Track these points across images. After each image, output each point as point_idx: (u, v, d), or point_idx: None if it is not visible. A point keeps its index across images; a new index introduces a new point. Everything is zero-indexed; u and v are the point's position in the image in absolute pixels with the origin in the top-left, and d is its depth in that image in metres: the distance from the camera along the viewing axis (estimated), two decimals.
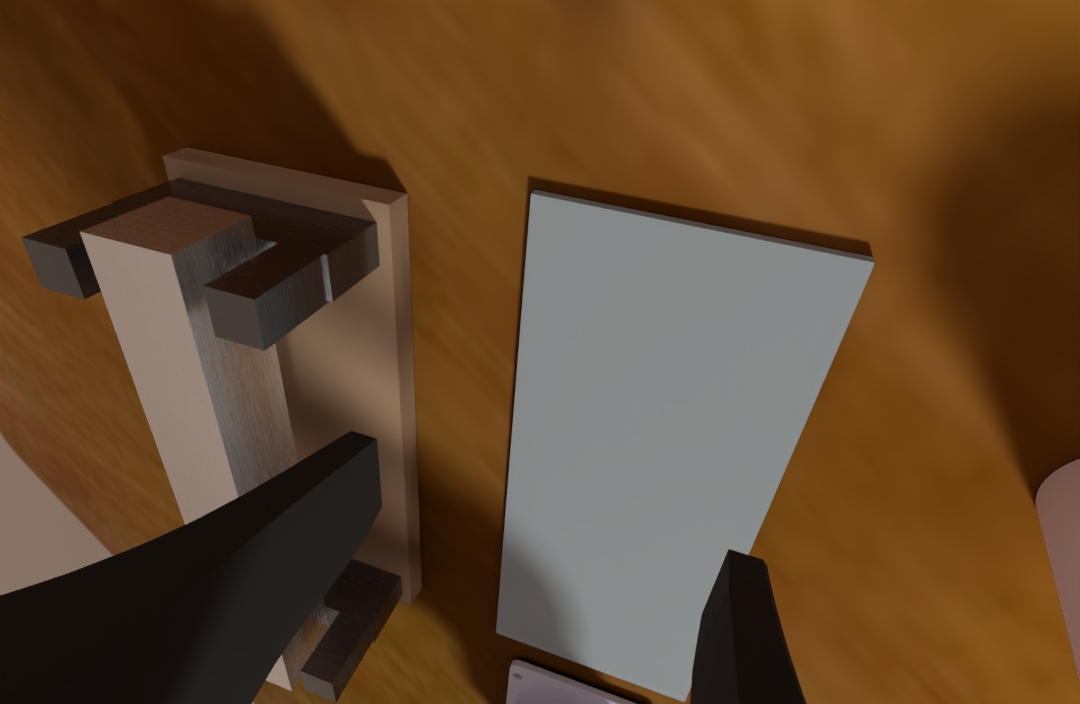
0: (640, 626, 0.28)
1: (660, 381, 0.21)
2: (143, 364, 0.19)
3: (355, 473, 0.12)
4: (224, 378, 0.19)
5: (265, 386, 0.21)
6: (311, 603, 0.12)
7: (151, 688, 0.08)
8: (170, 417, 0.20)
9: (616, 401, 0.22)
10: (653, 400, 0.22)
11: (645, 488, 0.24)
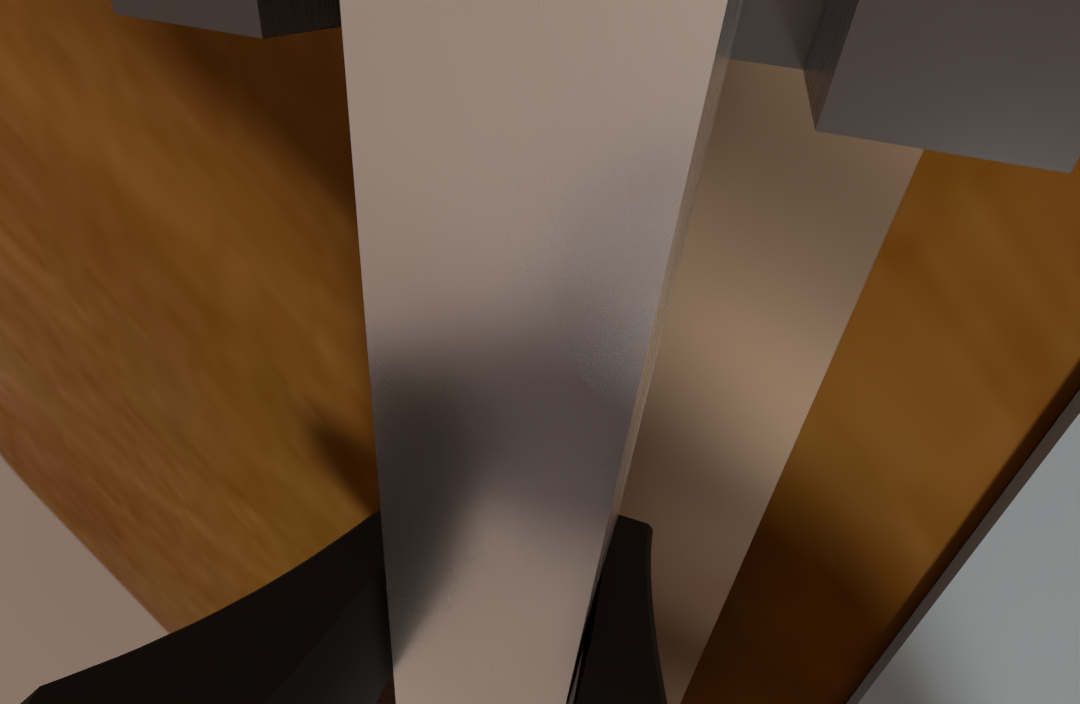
0: None
1: None
2: (421, 272, 0.06)
3: None
4: (657, 319, 0.06)
5: (655, 353, 0.08)
6: None
7: None
8: (454, 433, 0.07)
9: None
10: None
11: None
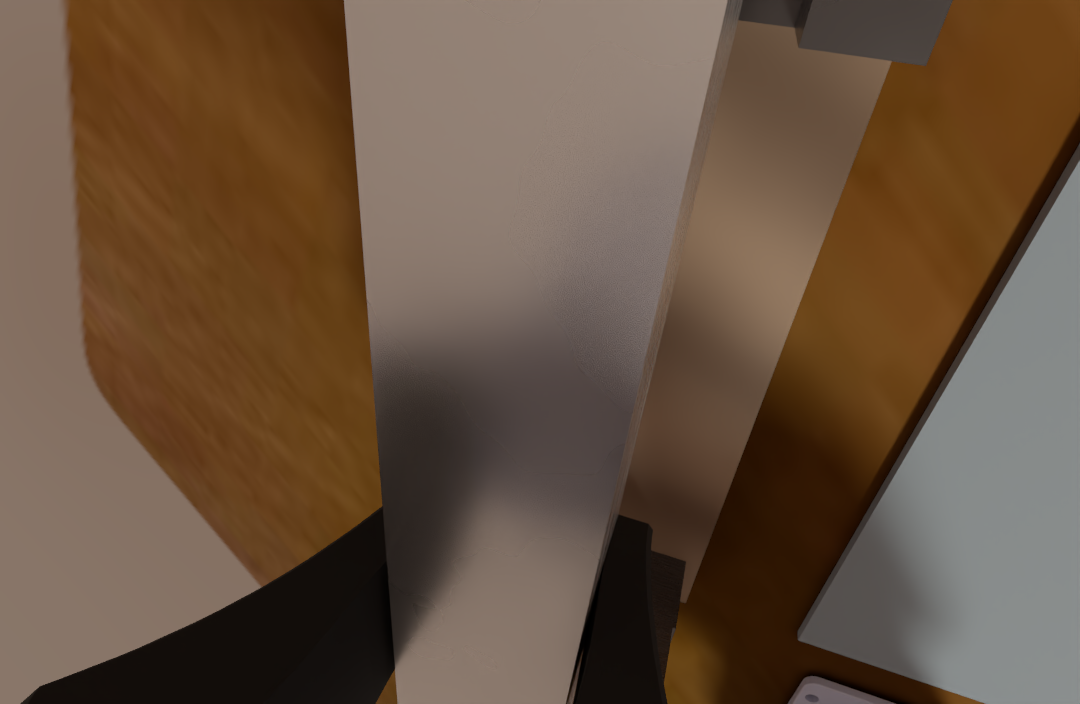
0: (1069, 633, 0.20)
1: None
2: (423, 267, 0.06)
3: None
4: (659, 313, 0.06)
5: (656, 349, 0.08)
6: None
7: None
8: (457, 427, 0.07)
9: None
10: None
11: None
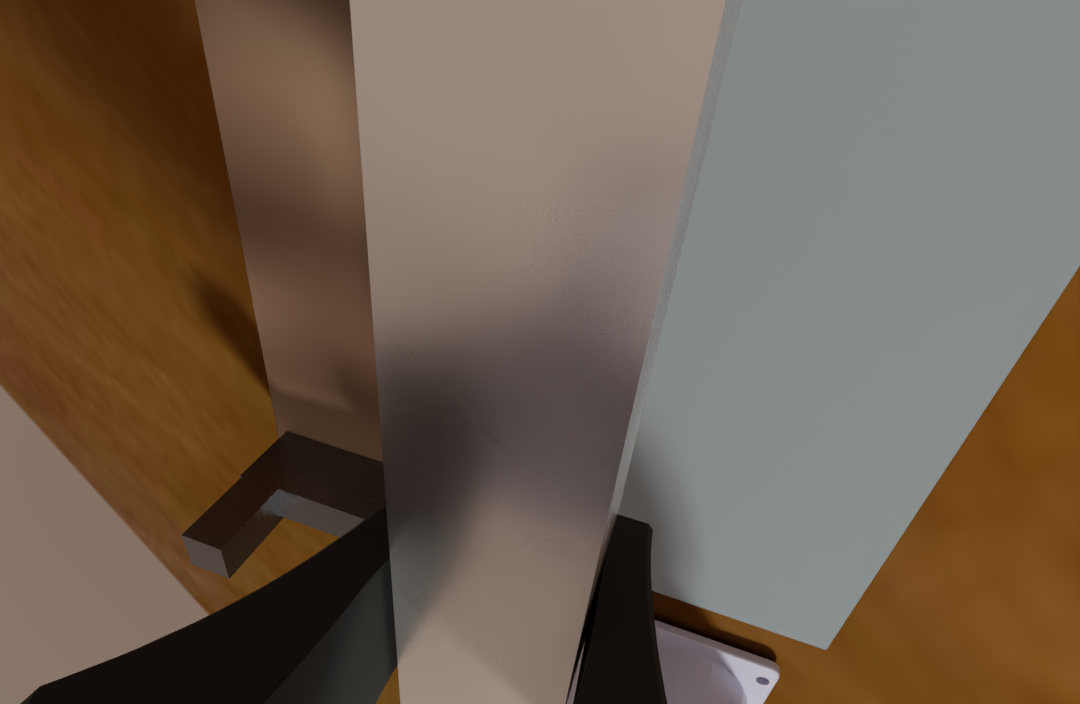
0: (783, 545, 0.22)
1: (894, 144, 0.14)
2: (427, 271, 0.06)
3: None
4: (657, 316, 0.06)
5: (655, 351, 0.08)
6: None
7: None
8: (459, 428, 0.07)
9: (815, 188, 0.15)
10: (875, 179, 0.15)
11: (833, 332, 0.17)
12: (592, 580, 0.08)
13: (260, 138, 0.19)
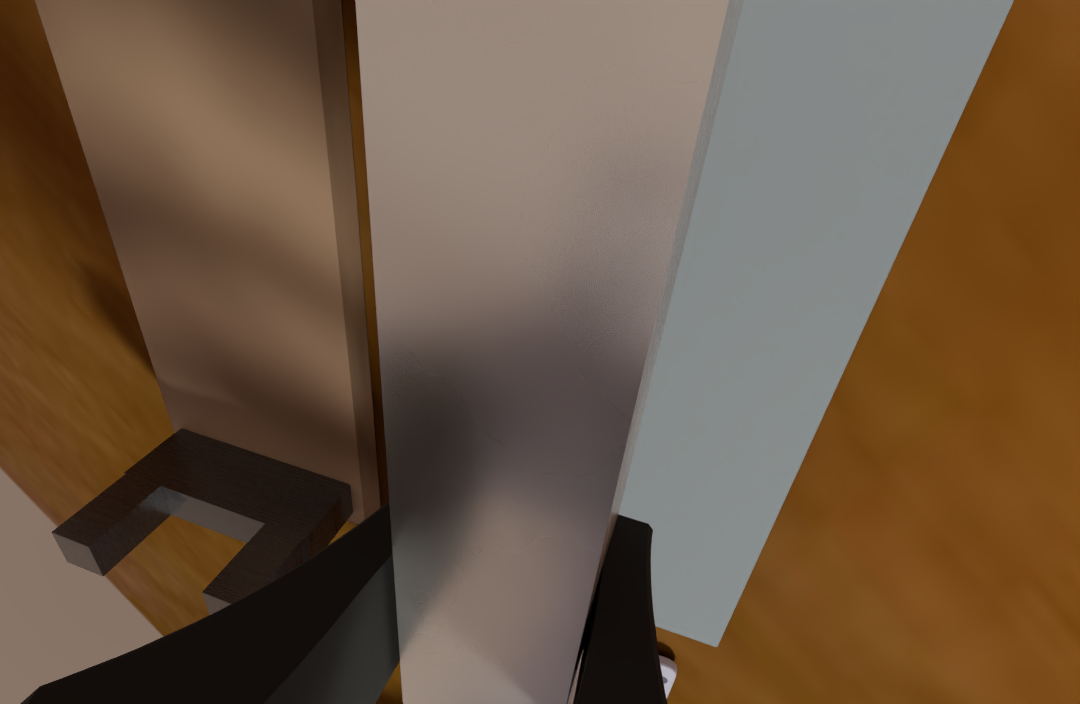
0: (662, 541, 0.21)
1: None
2: (431, 275, 0.06)
3: None
4: (658, 320, 0.07)
5: (656, 353, 0.09)
6: None
7: None
8: (462, 429, 0.07)
9: None
10: None
11: (677, 322, 0.17)
12: (593, 580, 0.08)
13: (112, 130, 0.19)
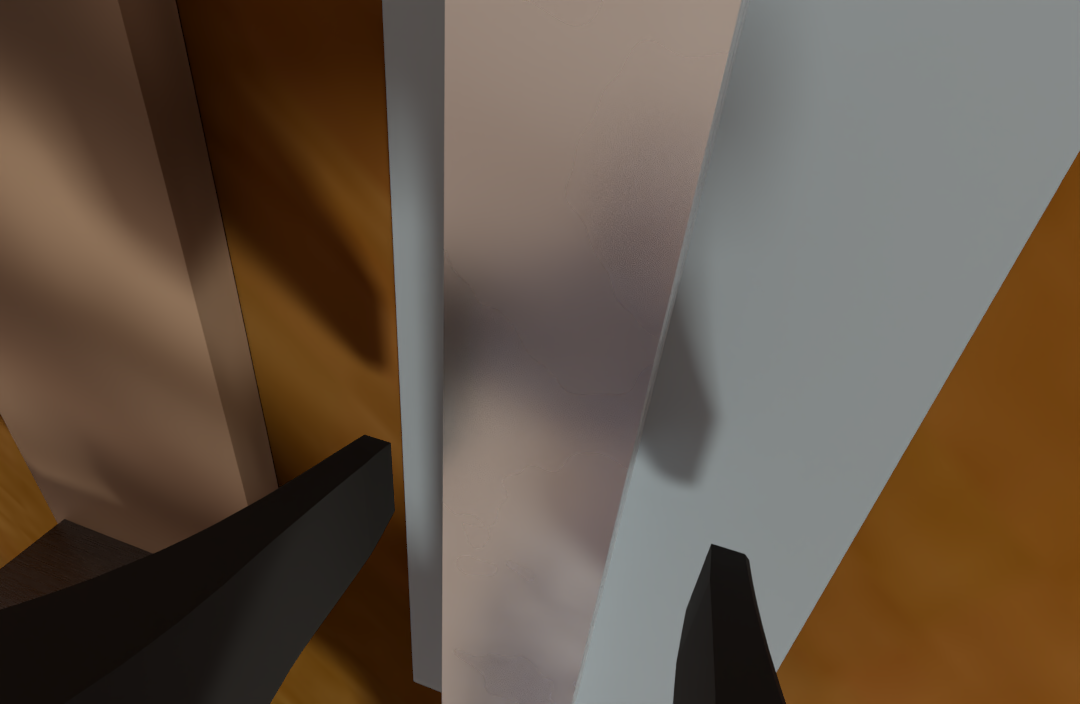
0: (633, 683, 0.17)
1: None
2: (493, 219, 0.08)
3: (369, 478, 0.12)
4: (680, 258, 0.08)
5: (674, 299, 0.10)
6: (325, 608, 0.12)
7: (170, 697, 0.08)
8: (512, 357, 0.09)
9: None
10: None
11: (643, 441, 0.13)
12: (621, 492, 0.09)
13: None
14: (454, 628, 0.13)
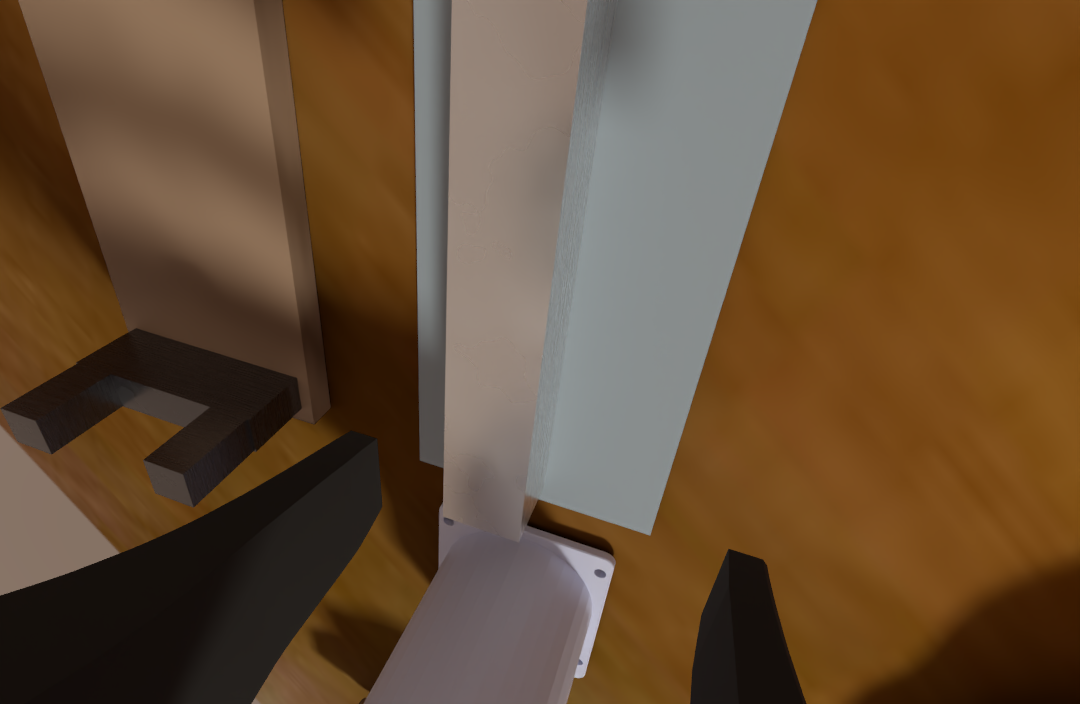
0: (592, 422, 0.22)
1: None
2: None
3: (355, 473, 0.12)
4: None
5: (604, 41, 0.15)
6: (311, 603, 0.12)
7: (151, 688, 0.08)
8: (495, 55, 0.14)
9: None
10: None
11: (592, 183, 0.18)
12: (567, 159, 0.14)
13: (54, 5, 0.19)
14: (454, 321, 0.18)
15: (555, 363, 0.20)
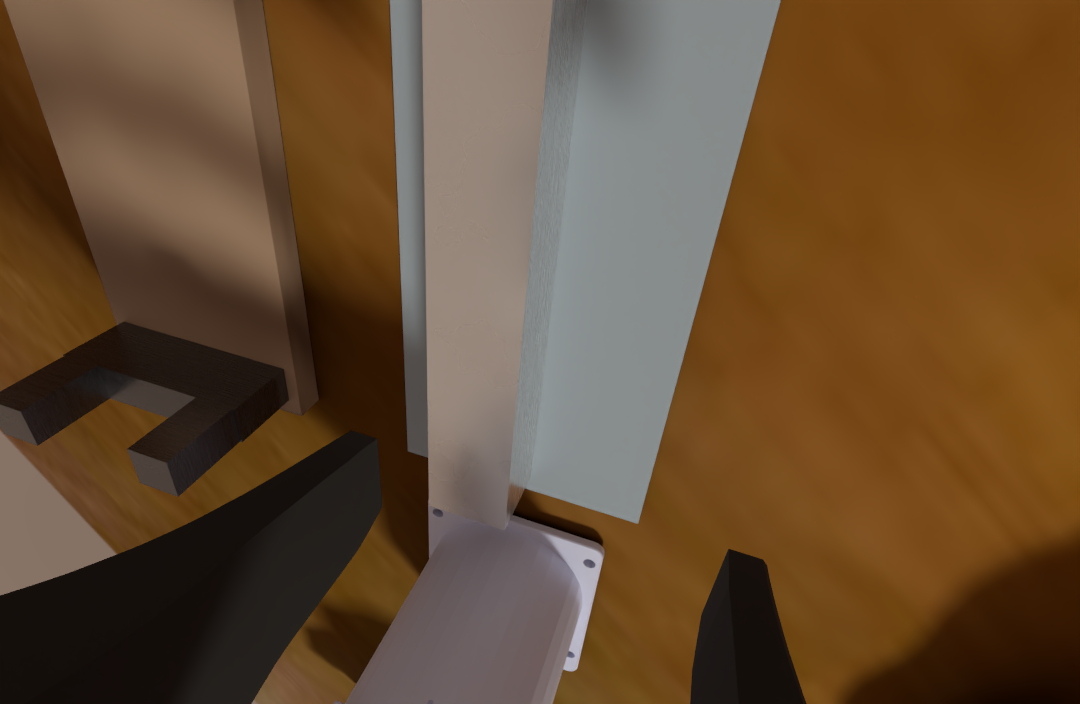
0: (578, 409, 0.22)
1: None
2: None
3: (355, 473, 0.12)
4: None
5: (577, 19, 0.15)
6: (311, 603, 0.12)
7: (151, 688, 0.08)
8: (466, 32, 0.14)
9: None
10: None
11: (570, 165, 0.17)
12: (540, 137, 0.14)
13: None
14: (434, 305, 0.18)
15: (537, 348, 0.20)
